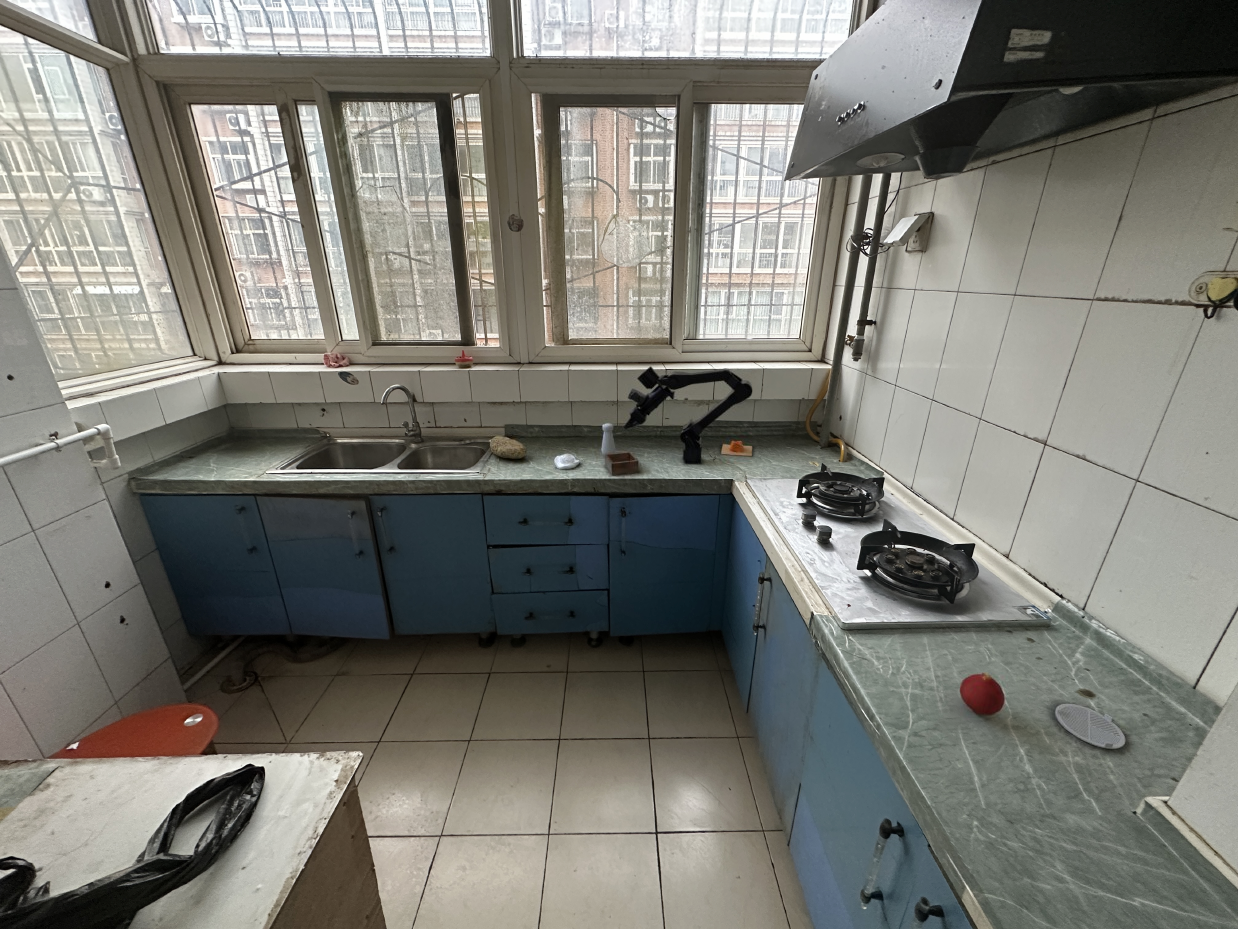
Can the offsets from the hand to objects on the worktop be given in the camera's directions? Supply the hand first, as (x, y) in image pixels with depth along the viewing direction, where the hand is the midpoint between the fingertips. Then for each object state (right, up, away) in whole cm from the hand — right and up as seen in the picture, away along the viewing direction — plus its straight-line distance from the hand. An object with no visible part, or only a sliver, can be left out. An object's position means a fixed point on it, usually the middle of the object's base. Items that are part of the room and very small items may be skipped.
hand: (626, 424), depth 193 cm
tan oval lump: (-48, -12, +8) cm, 50 cm away
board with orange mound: (+45, -10, +11) cm, 47 cm away
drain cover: (+72, -57, -114) cm, 146 cm away
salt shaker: (-7, -12, +6) cm, 15 cm away
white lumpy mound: (-23, -16, -3) cm, 28 cm away
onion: (+56, -56, -111) cm, 136 cm away
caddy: (-2, -17, -8) cm, 19 cm away
